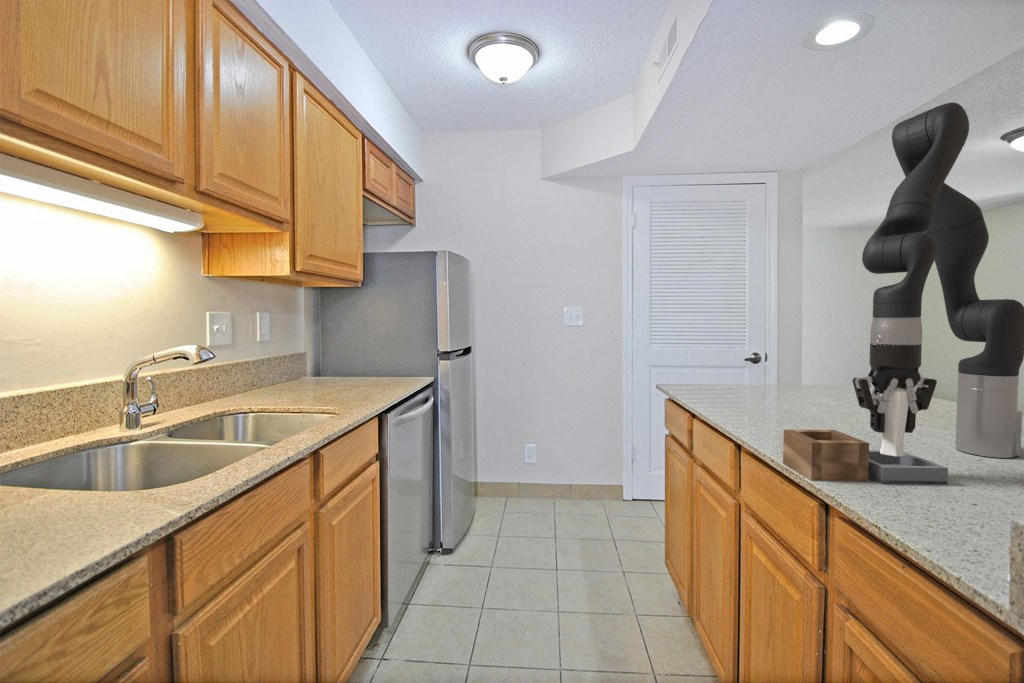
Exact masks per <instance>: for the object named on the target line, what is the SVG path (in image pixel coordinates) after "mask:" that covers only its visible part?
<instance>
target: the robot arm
mask: <svg viewBox="0 0 1024 683" xmlns="http://www.w3.org/2000/svg"><path fill="white" fill-rule="evenodd" d="M969 133H970V119H969V117H968V115H967V111H966V110H965V109H964V107H963V106H962V105H961V104H959V103H957V102H946V103H943V104H940V105H938V106H935V107H933V108H929V109H928V110H926V111H923V112H920V113H919V114H916V115H914V116H912V117H910V118H907V119H905V120H902V121H900V122H898V123H897V124H896V125H895V126H894V127H893V129H892V133H891V142H892V147H893V150H894V153H895V156H896V158H897V160H898V163H899V166H900V168H901V170H902V172H903V174H904V177H905V178H904V179H903V180H902V181H901V182H900V184H899V185H898V186H897V187H896V189H895V190H894V191H893V193H892V196H891V198H890V201H889V204H888V207H887V211H886V213H885V217H884V219H883V220H882V222H880V224H879V225H878V227H877V228H876V229H875V231H874V232H873V234H872V235H871V236H870V237H869V238H868V240H867V242H866V244H865V246H864V248H863V251H862V254H861V255H862V256H861V261H862V265H863V266H864V268H865V269H866V270H867V271H868V272H869V273H872V274H876V275H883V274H896V273H897V274H898V273H899V274H900V273H906V275H905V276H904V278H903V279H902V280H901V281H899V282H896V283H895V284H890V285H885V286H882V287H881V286H880V287H879V288H876V289H875V290H874V292H873V297H872V321H871V326H870V336H869V365H870V371H869V373H868V374H867V376H863V377H854V378H853V379H852V384H853V387H854V393H855V394H856V398H857V403H858V405H859V407H860V408H862V409H866V410H868V411H869V412H870V417H869V426H870V428H871V429H872V431H873V432H875V433H879V434H880V433H881V434H882V433H883V432H884V428H885V414H884V413H883V412H884V410H885V407H886V404H887V403H888V402H889V401H890V399H891V397H892V394H893V391H894V389H895V388H902V389H905V390H906V391H907V396H908V403H909V405H908V412H907V420H906V427H905V434H913V432H914V430H915V429H916V419H917V418H916V417H917V413H918V412H920V411H926V410H928V409H929V406H930V404H931V402H932V398H933V395H934V392H935V389H936V386H937V383H938V381H937V380H936V379H934V378H928V377H924V376H921V374H920V372H919V368H921V366H922V352H923V351H922V349H923V348H922V344H923V343H922V342H923V327H922V326H923V325H922V301H923V299H922V298H923V292H924V288H925V286H926V281H927V278H928V276H929V273H930V271H931V269H932V266H933V264H934V263H935V267H936V270H937V273H938V277H939V282H940V284H941V289H942V295H943V296H942V297H943V300H944V306H945V311H946V316H947V321H948V325H949V327H950V330H951V332H952V333H953V334H954V335H953V336H954V337H956V338H958V339H959V340H961V341H964V342H973V343H985V345H984V348H983V350H982V352H979V354H976V355H974V356H971V357H966V358H962V359H960V360H959V362H958V365H957V366H958V367H957V394H956V395H957V396H956V397H957V398H956V415H955V416H956V418H955V419H956V420H955V423H956V424H955V445H954V446H955V449H956V450H957V451H960V452H963V453H966V454H971V455H976V456H982V457H989V458H998V459H999V458H1000V459H1001V458H1003V459H1011V458H1015V457H1020V456H1021V450H1022V429H1023V428H1022V427H1023V412H1022V411H1021V410H1018V404H1019V403H1018V402H1019V381H1020V380H1019V379H1020V378H1019V376H1020V368H1021V365H1022V363H1023V362H1024V305H1023V304H1022V303H1021V302H1020V301H1018V300H1016V299H1013V298H1012V299H1009V298H1006V299H1005V298H1002V299H1001V298H999V299H998V298H997V299H996V298H995V299H980V297H979V295H978V293H977V289H976V284H975V275H976V271H977V269H978V267H979V265H980V263H981V261H982V259H983V257H984V255H985V252H986V250H987V248H988V244H989V239H990V238H989V237H990V236H989V235H990V233H989V231H988V227H987V224H986V221H985V219H984V215H983V211H982V209H981V207H980V206H979V205H978V204H977V203H976V202H975V201H974V200H972V199H971V198H970V197H968V196H967V195H965V194H963V193H962V192H960V191H958V190H956V189H955V188H953V187H952V186H950V185H949V184H947V183H946V182H945V181H946V179H947V177H948V176H949V174H950V172H951V171H952V169H953V167H954V166H955V163H956V161H957V159H958V157H959V156H960V154H961V152H962V150H963V148H964V146H965V144H966V141H967V139H968V136H969ZM871 384H872V385H871ZM872 386H873V389H872V391H871V389H870V388H872ZM915 387H916V390H915ZM880 394H883V395H882V396H880Z"/></svg>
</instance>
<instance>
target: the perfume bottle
mask: <svg viewBox="0 0 1024 683" xmlns="http://www.w3.org/2000/svg"><path fill="white" fill-rule="evenodd" d="M882 395H883V394H880V396H882ZM908 405H909V403H908V396H907V391H906V390H905V389H902V388H895V389H894V391H893V394H892V397H891V399H890V401H889V402H888V403H887V404H886V407H885V410H884V412H883V413H884V414H885V428H884V432H883V433H881V445H880V446H881V447H880V448H879V450H880V453H881V454H885V455H891V456H896V457H898V456H905V453H904V452H905V449H904V442H905V441H904V440H905V434H906V432H905V427H906V420H907V412H908Z"/></svg>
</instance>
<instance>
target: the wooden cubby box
mask: <svg viewBox="0 0 1024 683" xmlns="http://www.w3.org/2000/svg"><path fill="white" fill-rule="evenodd" d="M782 443H783V448H782V449H783V451H782V463H783V465H785V466H787V467H789V468H790V469H792V470H794V471H795V472H796V473H799V474H800V475H802V476H804V477H805V478H806V479H808V480H810V481H837V482H838V481H843V482H845V481H847V482H853V481H854V482H855V481H856V482H858V481H859V482H869V477H868V466H869V450H870V442H867V441H866V440H863V439H860V438H857V437H855V436H852V435H849V434H847V433H843V432H841V431H840V430H839V431H838V430H836V429H783V442H782Z"/></svg>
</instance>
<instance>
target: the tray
mask: <svg viewBox="0 0 1024 683" xmlns="http://www.w3.org/2000/svg"><path fill="white" fill-rule="evenodd" d="M904 453H905V456H898V457H896V456H891V455H885V454H881V453H880V449H877V450H875V449H874V450H873V449H869V466H868V479H869V478H870V479H872V480H873V481H876V482H878V483H880V484H883V485H934V484H938V485H939V486H941V485H942V486H944V485H948V480H949V478H948V477H949V468H948V467H946V466H944V465H940V464H938V463H935V462H933V461H930V460H927V459H925V458H922V457H919V456H917V455H913V454H912V453H910V452H909V453H908V452H906V451H904Z"/></svg>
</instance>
